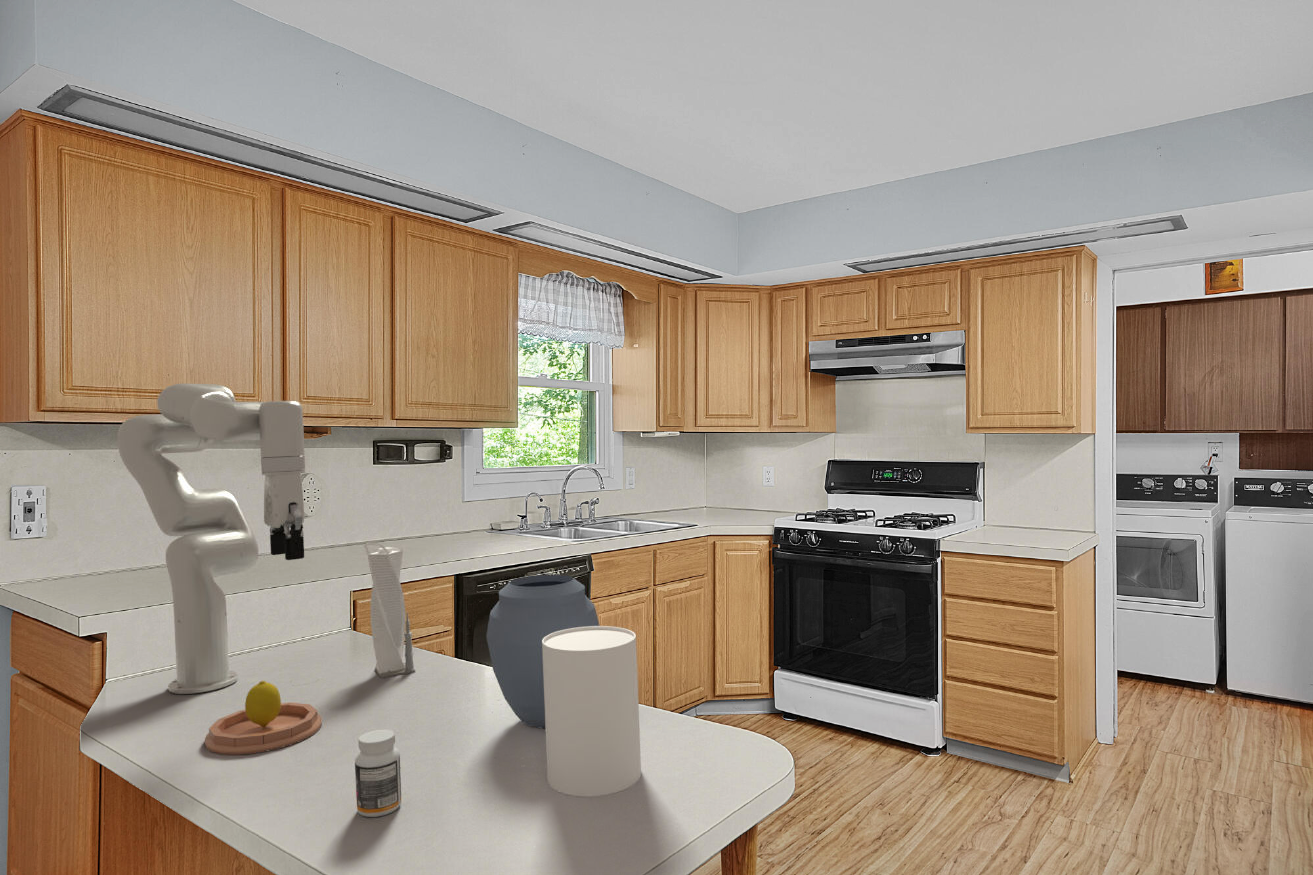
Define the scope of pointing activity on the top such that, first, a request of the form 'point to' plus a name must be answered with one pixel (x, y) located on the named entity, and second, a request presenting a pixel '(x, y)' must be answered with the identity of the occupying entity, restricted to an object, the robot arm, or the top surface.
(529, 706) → the vase
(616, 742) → the canister
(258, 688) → the lemon
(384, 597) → the skyscraper
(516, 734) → the top surface
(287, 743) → the dish
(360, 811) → the pill bottle
